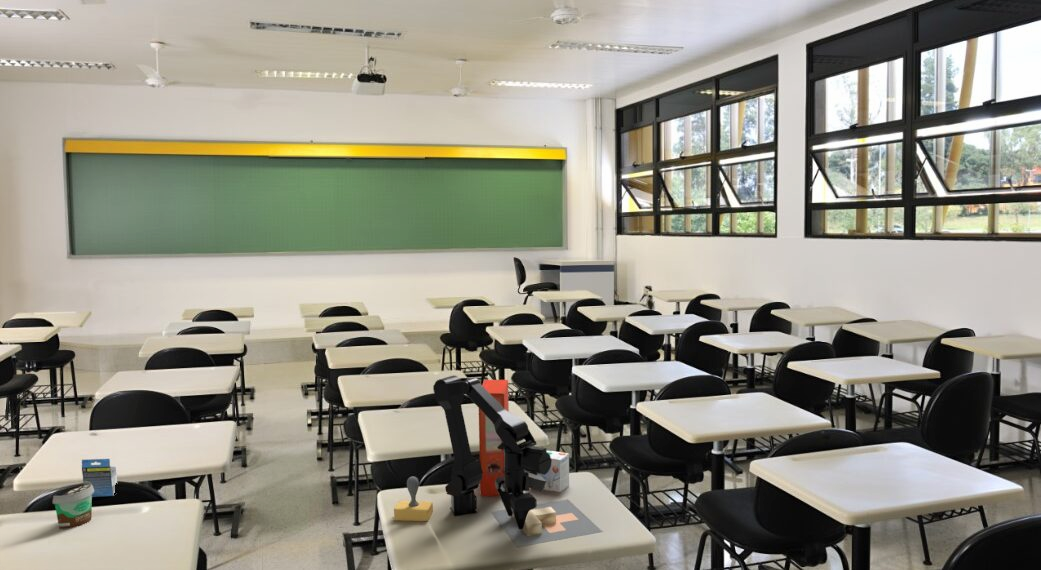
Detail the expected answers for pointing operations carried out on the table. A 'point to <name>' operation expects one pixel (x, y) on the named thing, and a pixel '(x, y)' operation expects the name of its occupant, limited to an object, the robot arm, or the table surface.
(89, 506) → the food container
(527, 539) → the mat
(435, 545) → the table surface
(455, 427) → the robot arm
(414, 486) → the rubber stamp
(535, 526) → the t block
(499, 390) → the file binder
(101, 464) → the label tape box
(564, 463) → the light bulb box
